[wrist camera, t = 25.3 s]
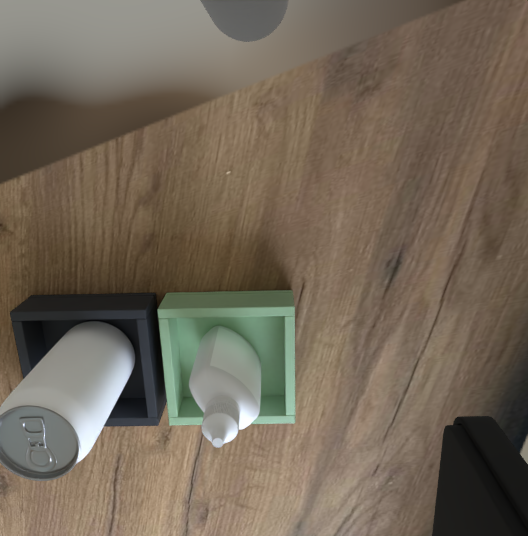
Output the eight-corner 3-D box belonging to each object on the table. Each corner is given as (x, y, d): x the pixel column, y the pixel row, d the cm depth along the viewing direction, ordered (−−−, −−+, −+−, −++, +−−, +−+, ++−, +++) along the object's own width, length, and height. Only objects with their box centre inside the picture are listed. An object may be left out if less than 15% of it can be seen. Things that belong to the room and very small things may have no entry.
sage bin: (166, 292, 40) (156, 309, 36) (292, 289, 40) (294, 306, 36) (176, 400, 43) (169, 425, 40) (293, 398, 43) (295, 423, 40)
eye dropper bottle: (246, 315, 40) (237, 396, 28) (265, 372, 42) (264, 470, 30) (197, 328, 40) (169, 414, 29) (217, 384, 42) (198, 485, 31)
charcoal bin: (31, 295, 40) (9, 312, 37) (155, 292, 40) (145, 309, 37) (51, 403, 43) (33, 427, 40) (167, 401, 43) (158, 425, 40)
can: (69, 387, 42) (-5, 488, 31) (55, 320, 40) (-29, 402, 29) (141, 384, 42) (94, 484, 31) (131, 316, 40) (76, 398, 29)
